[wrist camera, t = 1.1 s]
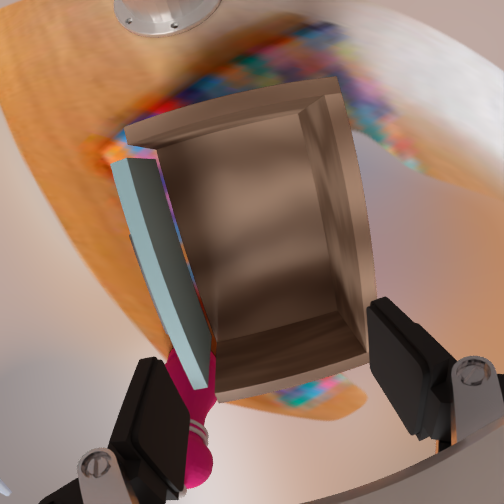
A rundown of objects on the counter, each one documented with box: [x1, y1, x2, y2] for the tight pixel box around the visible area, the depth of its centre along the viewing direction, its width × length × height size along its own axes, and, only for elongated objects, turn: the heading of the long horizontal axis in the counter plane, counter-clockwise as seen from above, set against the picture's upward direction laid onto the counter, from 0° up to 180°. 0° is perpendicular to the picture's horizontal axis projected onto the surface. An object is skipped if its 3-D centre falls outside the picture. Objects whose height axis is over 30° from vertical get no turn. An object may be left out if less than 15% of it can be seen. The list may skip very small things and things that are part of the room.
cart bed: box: [124, 76, 377, 403], centre depth 26 cm, size 22×14×13 cm, turn 14°
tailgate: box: [110, 158, 212, 390], centre depth 24 cm, size 18×2×8 cm, turn 14°
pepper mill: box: [165, 348, 217, 498], centre depth 27 cm, size 7×7×20 cm
